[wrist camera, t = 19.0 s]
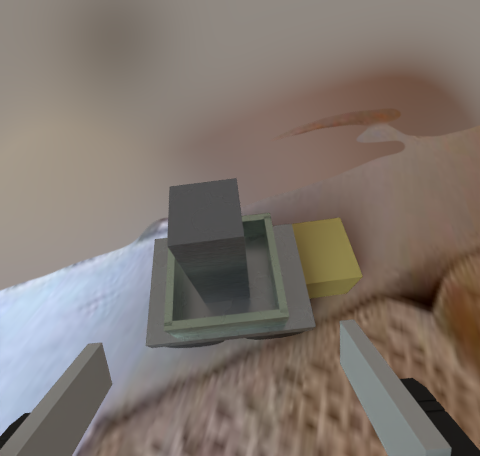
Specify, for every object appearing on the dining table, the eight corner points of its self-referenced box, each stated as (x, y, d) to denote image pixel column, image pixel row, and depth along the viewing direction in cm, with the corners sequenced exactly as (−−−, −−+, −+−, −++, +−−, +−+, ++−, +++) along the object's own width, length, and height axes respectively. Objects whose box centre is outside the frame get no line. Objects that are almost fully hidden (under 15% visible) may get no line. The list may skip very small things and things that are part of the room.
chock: (328, 240, 34) (339, 217, 29) (346, 293, 30) (362, 276, 25) (283, 247, 34) (286, 224, 29) (295, 300, 30) (302, 284, 25)
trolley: (285, 255, 33) (295, 206, 24) (302, 340, 28) (323, 318, 19) (175, 267, 33) (143, 223, 24) (172, 354, 28) (130, 340, 19)
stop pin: (244, 256, 25) (236, 178, 16) (250, 297, 23) (244, 236, 13) (203, 261, 25) (169, 186, 16) (205, 303, 23) (167, 246, 13)
